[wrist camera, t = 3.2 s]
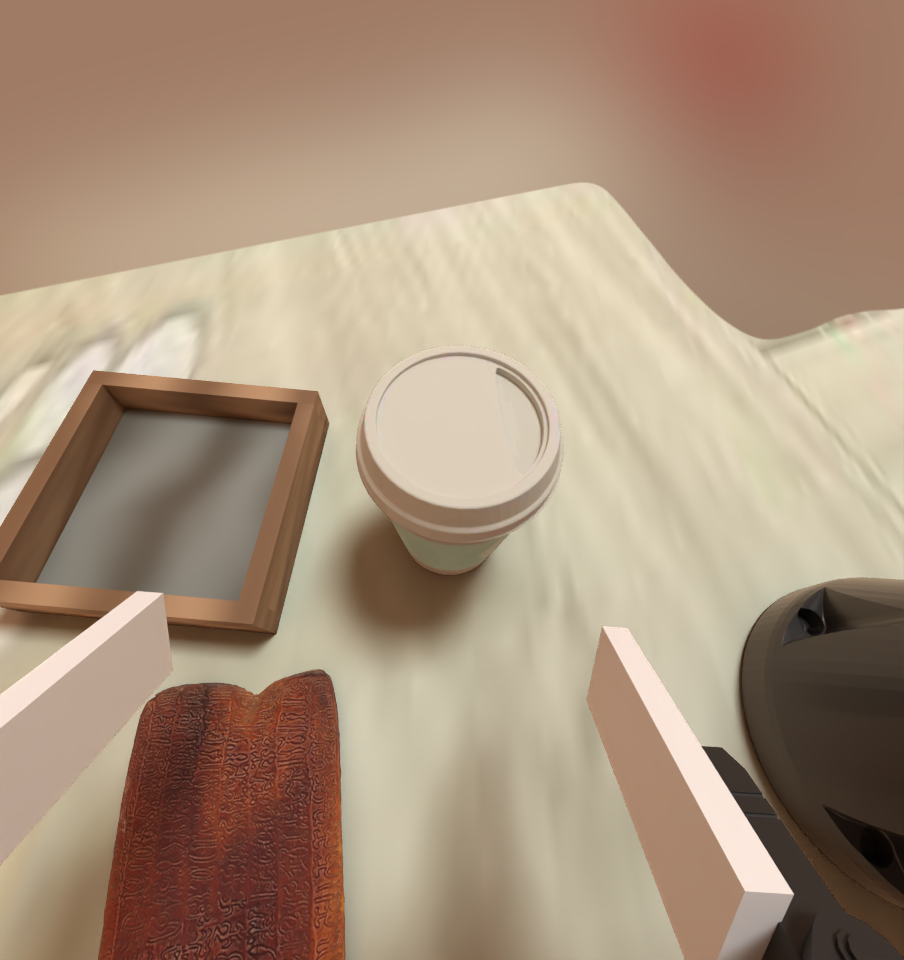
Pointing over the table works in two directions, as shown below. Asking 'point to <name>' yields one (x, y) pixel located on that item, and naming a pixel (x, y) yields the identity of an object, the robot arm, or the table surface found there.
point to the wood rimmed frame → (167, 502)
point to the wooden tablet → (231, 827)
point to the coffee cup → (459, 452)
